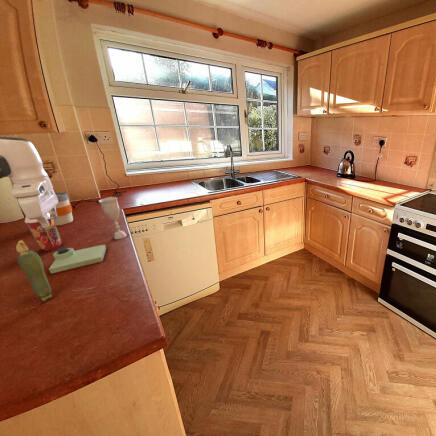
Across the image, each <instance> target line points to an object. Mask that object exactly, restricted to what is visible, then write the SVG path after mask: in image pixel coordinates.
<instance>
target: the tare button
mask: <svg viewBox="0 0 436 436" xmlns="http://www.w3.org/2000/svg"><path fill="white" fill-rule="evenodd" d="M68 248H69V247H67V246H63V247H59V248H57V249H56V252H58V254H63V253H66V252H68Z"/></svg>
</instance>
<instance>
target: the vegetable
mask: <svg viewBox="0 0 436 436" xmlns="http://www.w3.org/2000/svg"><path fill="white" fill-rule="evenodd" d="M15 249H16V252H18V255H17V263H18V265H19V267H20V268H21V269H22V271H23V272H24V273H25V275H26V277H27V279H28V281H29V285H30V286H31V289H32V292H33V293H34V294H35V296H36V297H37V298H38V299H41V301H43V302H46V301H47V300H50V299H51V298H52V296H53V295H52V293H53V292H52V288H51V284H50V282H49V280H48V278H47V274H46V272H45V268H44V267H45V266H44V263H43V261H42V258H41V256H40V255H39V254H38V253H37V252H36V251H34V250H31V249H30V250H29V247H28V246H27V244H26V243H25V241H24V240H23V239H20V240H19V241H17V244H16V247H15Z"/></svg>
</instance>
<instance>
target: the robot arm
mask: <svg viewBox="0 0 436 436" xmlns="http://www.w3.org/2000/svg"><path fill="white" fill-rule="evenodd" d="M3 178H9V179H10V180H11V182H12V184H13V188H12V190H11V196H12V197H13V198H14V199H17V203H18V205H19V207H20V209H21V211H22V212H23V214H24V216H25V218H26V217H27V218H28V219H30V220H33V219H36V220H37V221H38V222H39V223H40V224H41V225H42V227H43V228H48V227H49V226H50V223H49V221H47V219H46V216H45V215H46V214H47V213H48V212H49V214H50V215H49V216H50V218H51V219H56V218H57V217H58V216H57V213H56V207H55V206H56V205H57V204H58V199H57V196H56V194H55V193H56V192H55V190H54V186H53V183H52V181H51V179H50V177H49V174H48V173H47V171H46V170H45V169H44V162H43V160H42V159H41V156H40V154H39V152H38V150H37V148H36V147H35V145H34V144H33V143H32V142H31V141H30V140H29V139H27V138H23V137H19V136H18V137H17V136H0V180H1V179H3Z"/></svg>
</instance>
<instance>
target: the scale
mask: <svg viewBox="0 0 436 436" xmlns="http://www.w3.org/2000/svg"><path fill="white" fill-rule="evenodd" d="M67 248H68V252H66V253H63V254H58V252H57V251H55V252H54V253H52V257H53V258H54V260H53V262H52V263H51V265H50V266H49V268H48V271H49V272H50V274H55V273H60V272H63V271H67V270H72V269H76V268H79V267H84V266H88V265H92V264H96V263H100V262H103V261H104V258H105V254H106V250H107V247H106V244H105V243H104V244H99V245H95V246H89V247H86V248H81V249H77V250H74V248H73V247H67Z"/></svg>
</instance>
